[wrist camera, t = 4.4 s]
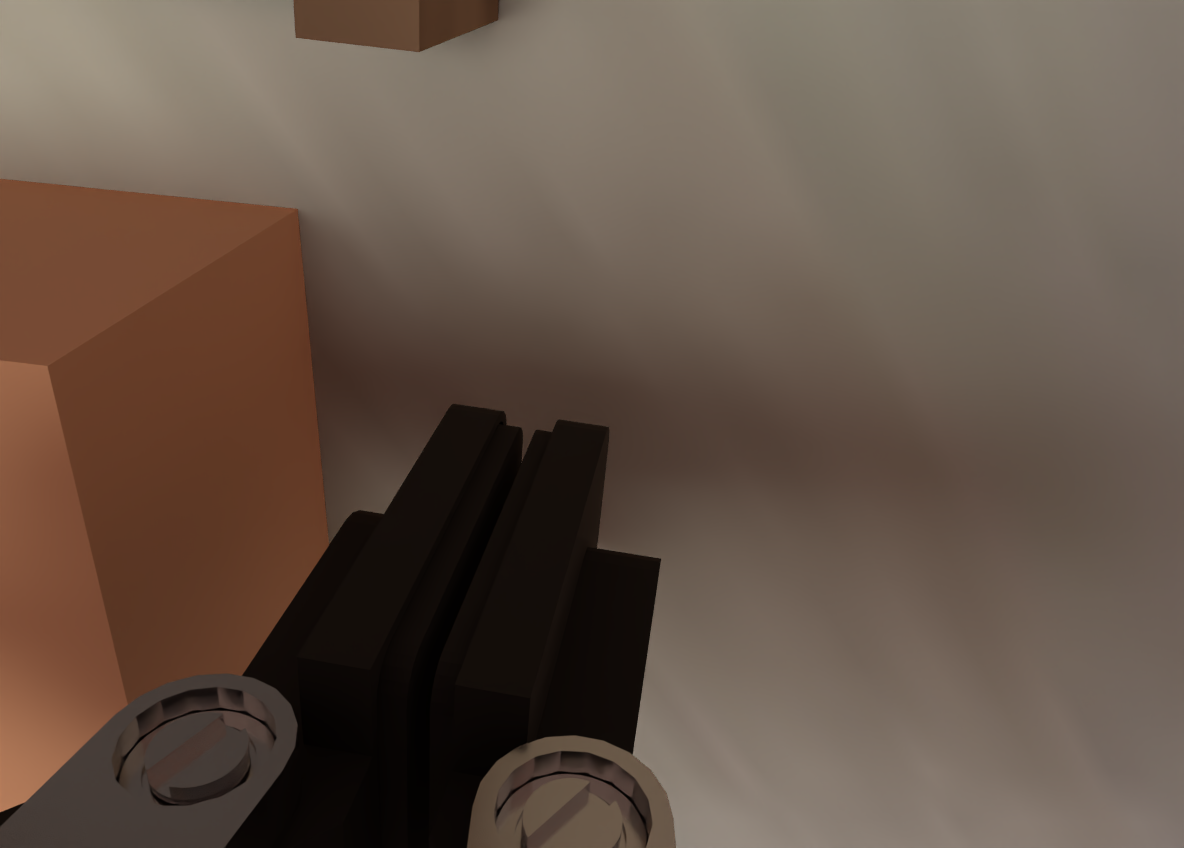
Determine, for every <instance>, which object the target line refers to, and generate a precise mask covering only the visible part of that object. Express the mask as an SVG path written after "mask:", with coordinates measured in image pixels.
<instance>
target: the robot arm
mask: <svg viewBox="0 0 1184 848" xmlns="http://www.w3.org/2000/svg"><path fill="white" fill-rule="evenodd" d="M608 442H609V427H605V426H598V425H592V424H585V423H578V422H571V421H565V420H557V422H556V424H555V427H554V429H553V432H548V431H541V430H536V431H535V433H534V435H533V437H532V440H531V442H530V444H529V447H528V449H527V452H526V454H525V456H524V459H523V461H522V444H523V432H522V428H521V427H515V426H508V425H506V415H505V413H504V411H498V410H491V409H484V408H478V407H471V406H464V405H458V404H452V405H451V406H450V408H449V409H448V411H447V412H446V414H445V416H444V417H443V419H442V420H441V422H440V424H439V425H438V427H437V429H436V430H435V432H434V434H433V435H432V437H431V438H430V440H429V442H428V443H427V445H426V447H425V448H424V450H423V451H422V453H421V455H420V456H419V458H418V460H417V461H416V463H415V465H414V466H413V468H412V469H411V471H410V473H409V474H408V476H407V478H406V479H405V481H404V482H403V484H402V486H401V487H400V489H399V491H398V492H397V494H396V496H395V497H394V499H393V500H392V502H391V504H390V505H389V507H388V509H387V510H386V512H385V513H384V514H379V513H373V512H367V511H361V510H359V511H356V512H353V513H352V514H351V515H350V516H349V517H348V518H347V520H346V521H345V522H344V524H343V525H342V527H341V528H340V530H339V531H338V533H337V534H336V536H335V537H334V539H333V540H332V542H331V543H330V545H329V546H328V548H327V549H326V551H325V552H324V554H323V555H322V557H321V558H320V560H319V561H318V563H317V564H316V566H315V567H314V569H313V570H312V572H311V573H310V575H309V576H308V577H307V579H306V580H305V582H304V583H303V585H302V586H301V588H300V589H299V591H298V592H297V594H296V595H295V597H294V598H293V600H292V601H291V603H290V604H289V606H288V607H287V609H286V610H285V612H284V613H283V615H282V616H281V618H280V619H279V621H278V622H277V624H276V625H275V627H274V628H273V630H272V631H271V633H270V634H269V636H268V637H267V639H266V640H265V642H264V643H263V645H262V646H261V648H260V649H259V651H258V652H257V654H256V655H255V657H254V658H253V660H252V661H251V663H250V664H249V666H248V667H247V669H246V670H245V672H244V673H243V675H242V676H239V675H233V674H227V673H226V674H208V675H196V676H192V677H188V678H184V679H180V680H177V681H173V682H169V683H166V684H164V685H162V686H160V687H158V688H156V689H153V690H151V691H149V692H147V693H145V694H143V695H141V696H139V697H137V698H136V699H135V700H134V701H132V702H131V703H130V704H128V705H127V706H126V707H124V708H123V709H122V710H121V711H119V712H118V713H117V714H115V715H114V716H113V717H112V718H111V719H110V720H109V721H108V722H107V723H106V724H105V725H104V726H103V727H102V728H101V729H100V730H99V731H98V732H97V733H96V734H95V735H94V736H93V737H92V738H91V739H90V740H88V741H87V742H86V743H85V744H84V745H83V746H82V747H81V748H80V749H79V750H78V751H77V752H76V753H75V754H74V755H73V756H72V757H71V758H70V759H69V760H68V761H67V762H66V763H65V764H64V765H63V766H62V767H61V768H60V769H59V770H58V771H57V772H56V773H55V774H54V775H53V776H52V777H51V778H50V779H49V780H48V781H46V782H45V783H44V784H43V785H42V786H41V787H40V788H39V789H38V790H37V791H36V792H35V793H34V794H33V795H32V796H31V797H30V798H29V799H28V800H27V801H26V802H25V803H22V804H20V805H17V806H14V807H12V808H9V809H7V810H4V811H2V812H0V848H676V842H675V831H674V819H673V815H672V811H671V808H670V804H669V800H668V797H667V793H666V792H665V790H664V789H663V787H662V786H661V784H660V783H659V781H658V780H657V778H656V777H655V775H654V774H653V772H652V771H651V770H650V769H649V768H648V767H647V766H645V765H644V764H643V763H642V762H640V761H639V760H638V759H637V758H636V757H634V756H633V748H634V741H635V734H636V727H637V721H638V714H639V707H640V700H641V693H642V686H643V679H644V672H645V666H646V659H647V652H648V645H649V638H650V631H651V624H652V617H653V611H654V604H655V597H656V590H657V583H658V576H659V569H660V562H661V559H659V558H653V557H647V556H641V555H634V554H628V553H622V552H616V551H609V550H603V549H597V543H598V533H599V524H600V515H601V506H602V497H603V488H604V479H605V470H606V461H607V452H608ZM521 461H522V463H521Z"/></svg>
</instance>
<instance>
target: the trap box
mask: <svg viewBox="0 0 1184 848" xmlns="http://www.w3.org/2000/svg"><path fill="white" fill-rule="evenodd" d="M498 2H499V0H294V16H295V33H296V38H303V39H311V40H320V41H329V42H337V43H346V44H354V45H363V46H372V47H380V48H389V49H398V50H406V51H415V52H420V51H423V50H425V49H428V48H430V47H433V46H435V45H438V44H440V43H443V42H445V41H448V40H450V39H452V38H455V37H457V36H460V35H462V34H465V33H467V32H470V31H472V30H475V29H477V28H480V27H482V26H484V25H487V24H489V23H492V22H494V21H497V20H498Z"/></svg>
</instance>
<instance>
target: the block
mask: <svg viewBox="0 0 1184 848" xmlns="http://www.w3.org/2000/svg"><path fill="white" fill-rule="evenodd" d="M328 546H329V539H328V528H327V517H326V507H325V496H324V486H323V475H322V464H321V454H320V443H319V432H318V422H317V411H316V400H315V390H314V379H313V368H312V358H311V347H310V336H309V326H308V315H307V305H306V294H305V283H304V273H303V262H302V251H301V241H300V230H299V219H298V209H293V208H283V207H273V206H263V205H253V204H244V203H234V202H224V201H214V200H204V199H194V198H184V197H174V196H165V195H155V194H145V193H135V192H125V191H115V190H105V189H95V188H86V187H76V186H66V185H56V184H46V183H36V182H26V181H17V180H7V179H0V812H2V811H4V810H7V809H9V808H12V807H14V806H17V805H20V804H22V803H25V802H26V801H27V800H28V799H29V798H30V797H31V796H32V795H33V794H34V793H35V792H36V791H37V790H38V789H39V788H40V787H41V786H42V785H43V784H44V783H45V782H46V781H48V780H49V779H50V778H51V777H52V776H53V775H54V774H55V773H56V772H57V771H58V770H59V769H60V768H61V767H62V766H63V765H64V764H65V763H66V762H67V761H68V760H69V759H70V758H71V757H72V756H73V755H74V754H75V753H76V752H77V751H78V750H79V749H80V748H81V747H82V746H83V745H84V744H85V743H86V742H87V741H88V740H90V739H91V738H92V737H93V736H94V735H95V734H96V733H97V732H98V731H99V730H100V729H101V728H102V727H103V726H104V725H105V724H106V723H107V722H108V721H109V720H110V719H111V718H112V717H113V716H114V715H115V714H117V713H118V712H119V711H121V710H122V709H123V708H124V707H126V706H127V705H128V704H130V703H131V702H132V701H134V700H135V699H136V698H137V697H139V696H141V695H143V694H145V693H147V692H149V691H151V690H153V689H156V688H158V687H160V686H162V685H164V684H166V683H169V682H173V681H177V680H180V679H184V678H188V677H192V676H196V675H208V674H226V673H227V674H233V675H239V676H242V675H243V673H244V672H245V670H246V669H247V667H248V666H249V664H250V663H251V661H252V660H253V658H254V657H255V655H256V654H257V652H258V651H259V649H260V648H261V646H262V645H263V643H264V642H265V640H266V639H267V637H268V636H269V634H270V633H271V631H272V630H273V628H274V627H275V625H276V624H277V622H278V621H279V619H280V618H281V616H282V615H283V613H284V612H285V610H286V609H287V607H288V606H289V604H290V603H291V601H292V600H293V598H294V597H295V595H296V594H297V592H298V591H299V589H300V588H301V586H302V585H303V583H304V582H305V580H306V579H307V577H308V576H309V575H310V573H311V572H312V570H313V569H314V567H315V566H316V564H317V563H318V561H319V560H320V558H321V557H322V555H323V554H324V552H325V551H326V549H327V548H328Z"/></svg>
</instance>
